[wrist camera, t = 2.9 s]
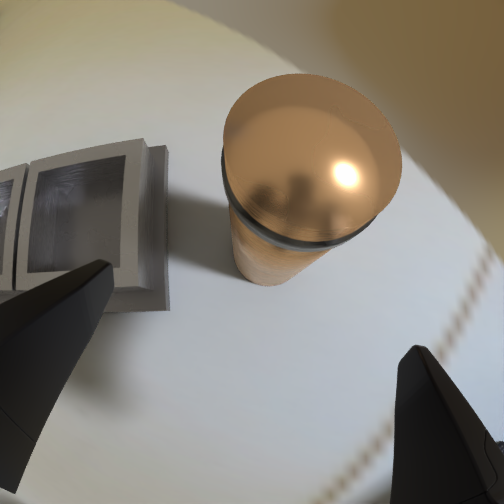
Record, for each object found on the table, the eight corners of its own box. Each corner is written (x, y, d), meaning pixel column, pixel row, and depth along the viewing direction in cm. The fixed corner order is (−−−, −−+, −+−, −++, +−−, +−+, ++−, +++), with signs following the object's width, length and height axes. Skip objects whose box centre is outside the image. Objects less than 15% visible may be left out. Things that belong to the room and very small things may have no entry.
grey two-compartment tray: (168, 152, 21) (155, 120, 17) (170, 310, 18) (152, 309, 14) (-15, 189, 20) (-41, 174, 16) (-27, 309, 17) (-57, 305, 13)
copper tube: (250, 299, 19) (272, 270, 6) (220, 233, 20) (191, 99, 7) (316, 269, 19) (435, 192, 7) (285, 206, 20) (343, 60, 7)
